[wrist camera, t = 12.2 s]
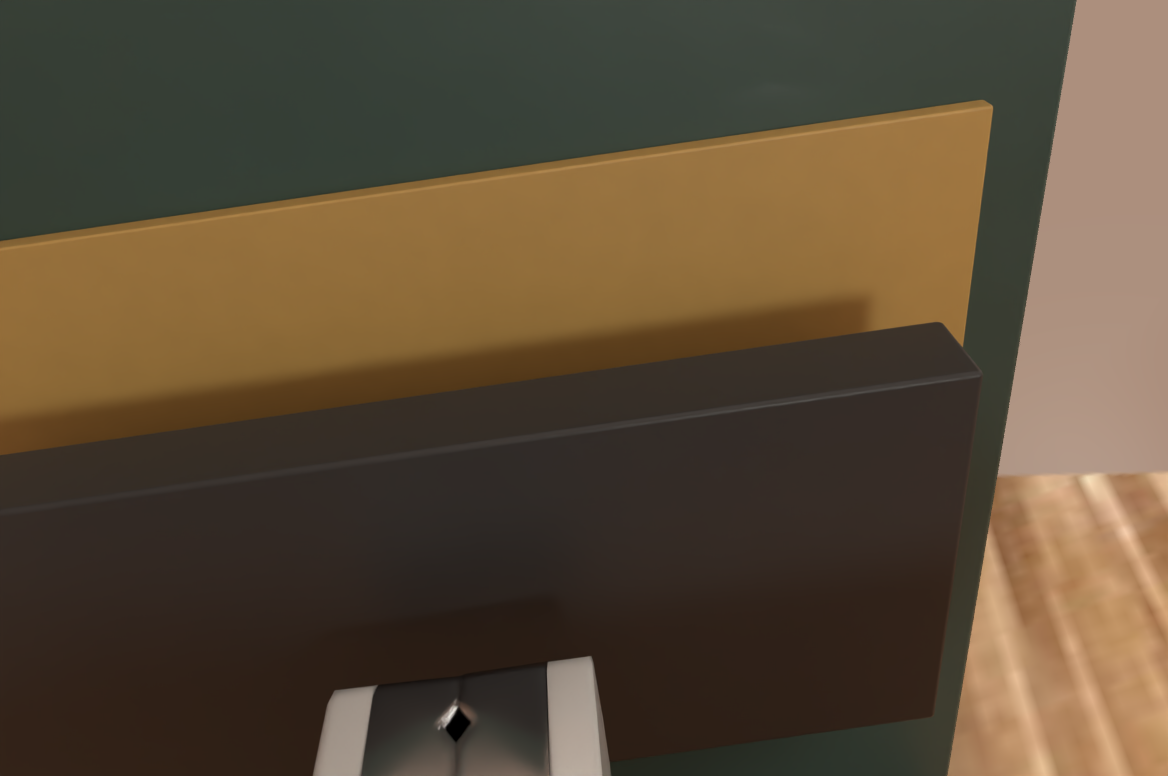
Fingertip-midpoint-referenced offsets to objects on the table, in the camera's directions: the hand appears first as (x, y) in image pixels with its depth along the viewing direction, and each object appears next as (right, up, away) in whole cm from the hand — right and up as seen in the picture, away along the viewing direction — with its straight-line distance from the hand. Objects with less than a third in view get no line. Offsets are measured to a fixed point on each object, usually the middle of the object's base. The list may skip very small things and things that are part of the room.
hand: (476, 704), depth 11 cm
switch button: (0, -2, +3) cm, 4 cm away
